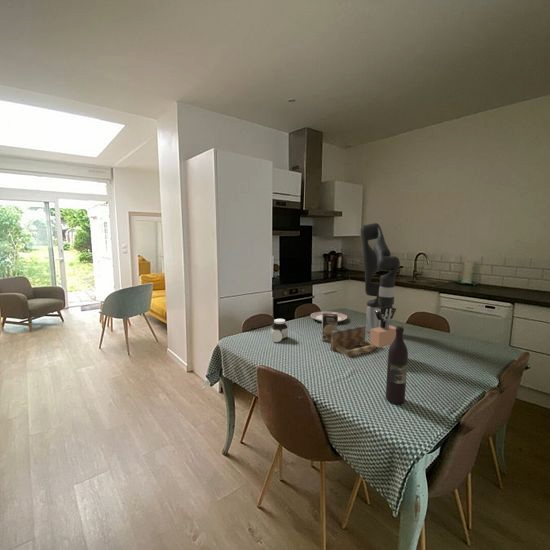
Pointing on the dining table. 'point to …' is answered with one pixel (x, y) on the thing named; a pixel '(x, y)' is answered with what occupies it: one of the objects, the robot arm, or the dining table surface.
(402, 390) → the wine bottle
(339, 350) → the brown grey open box
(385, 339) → the tan box with handle
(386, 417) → the dining table surface
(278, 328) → the spread jar
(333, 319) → the coffee box
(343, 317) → the dinner plate
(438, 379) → the dining table surface
